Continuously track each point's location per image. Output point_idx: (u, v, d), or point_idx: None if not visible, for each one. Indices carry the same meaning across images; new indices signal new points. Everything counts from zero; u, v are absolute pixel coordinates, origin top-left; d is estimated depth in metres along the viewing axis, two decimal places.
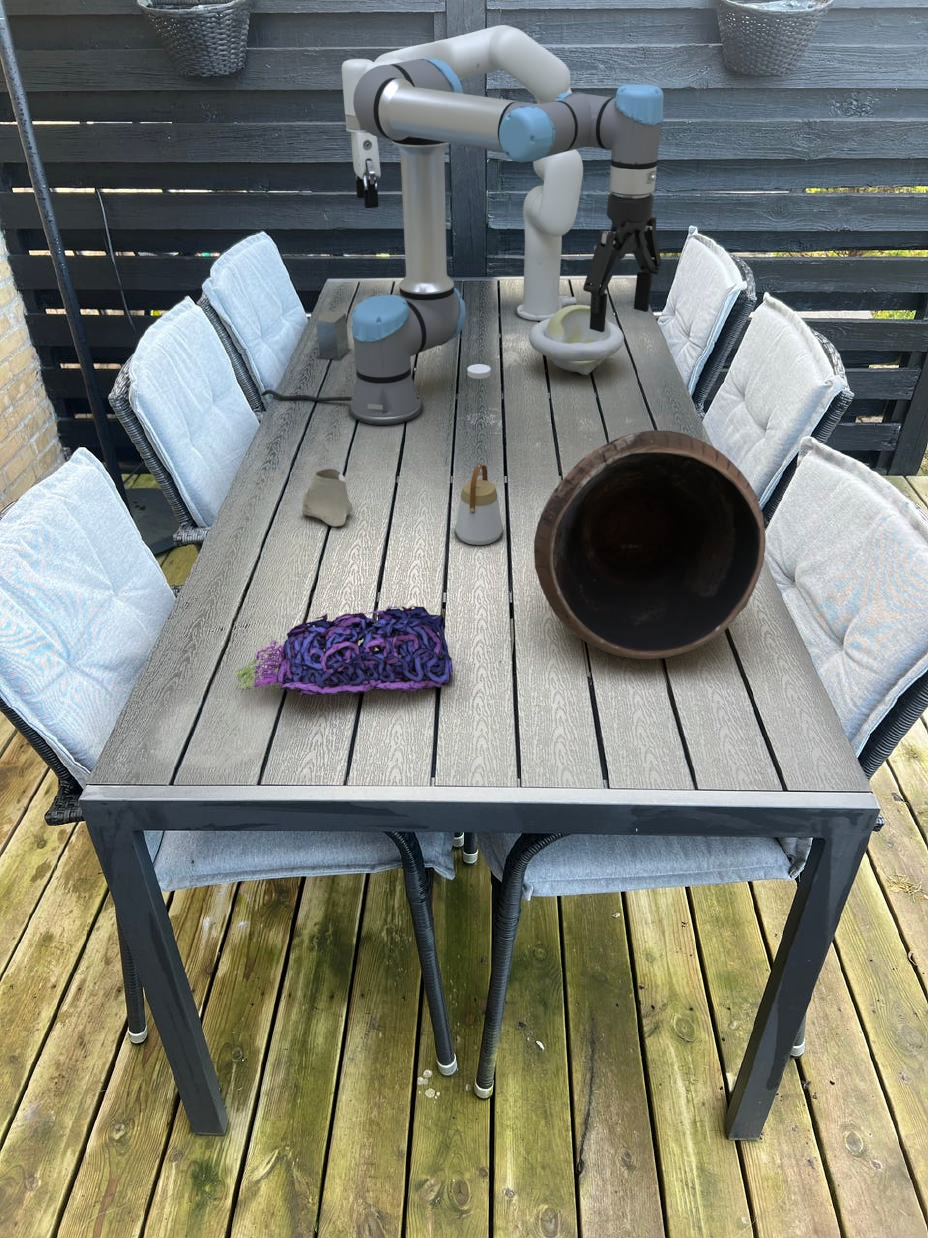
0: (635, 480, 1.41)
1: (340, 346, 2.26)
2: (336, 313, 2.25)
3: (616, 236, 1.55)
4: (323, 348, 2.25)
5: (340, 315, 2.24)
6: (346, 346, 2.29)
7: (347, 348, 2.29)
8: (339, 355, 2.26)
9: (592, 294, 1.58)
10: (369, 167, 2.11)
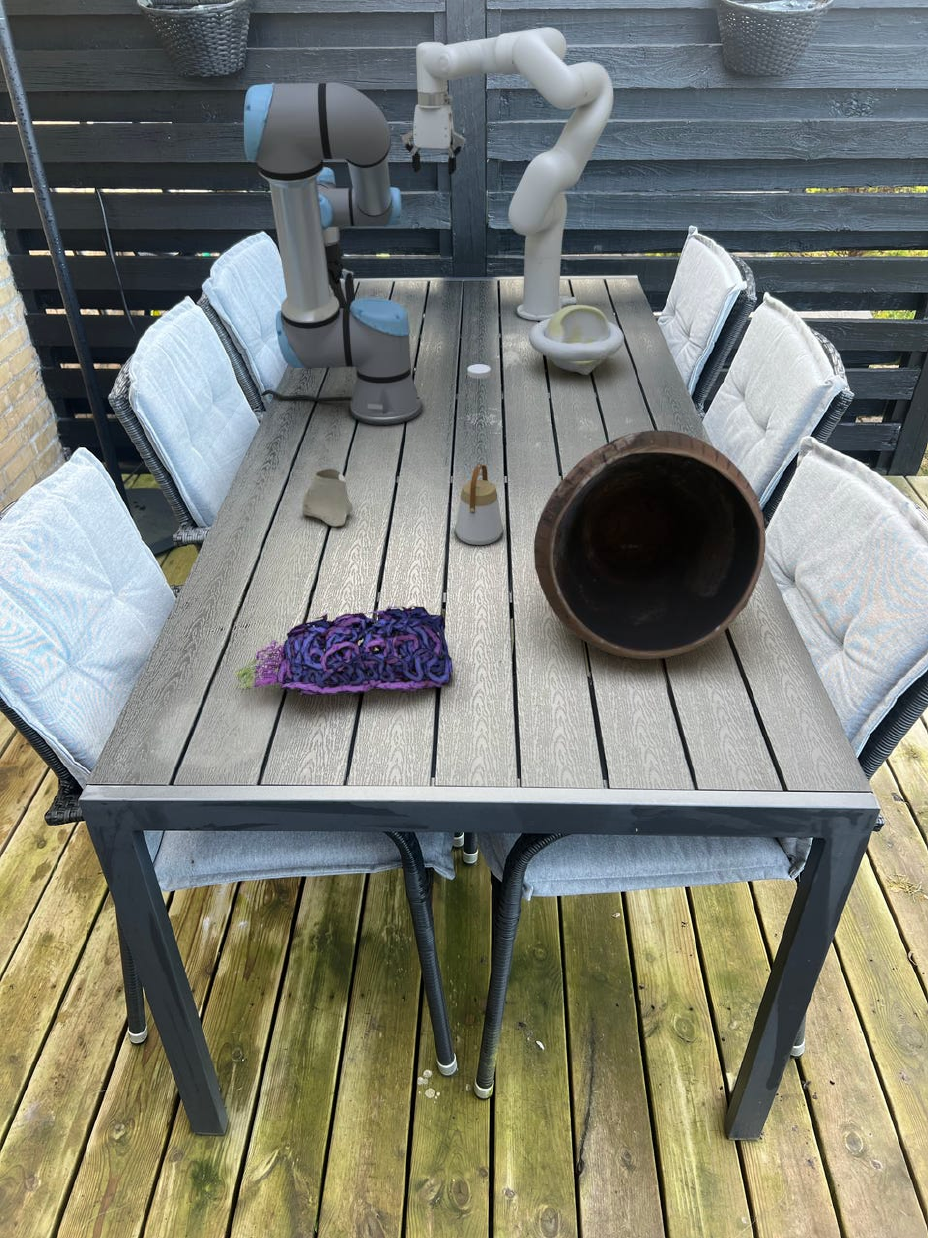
0: (635, 480, 1.41)
1: None
2: None
3: None
4: None
5: None
6: None
7: None
8: None
9: None
10: (459, 135, 2.39)
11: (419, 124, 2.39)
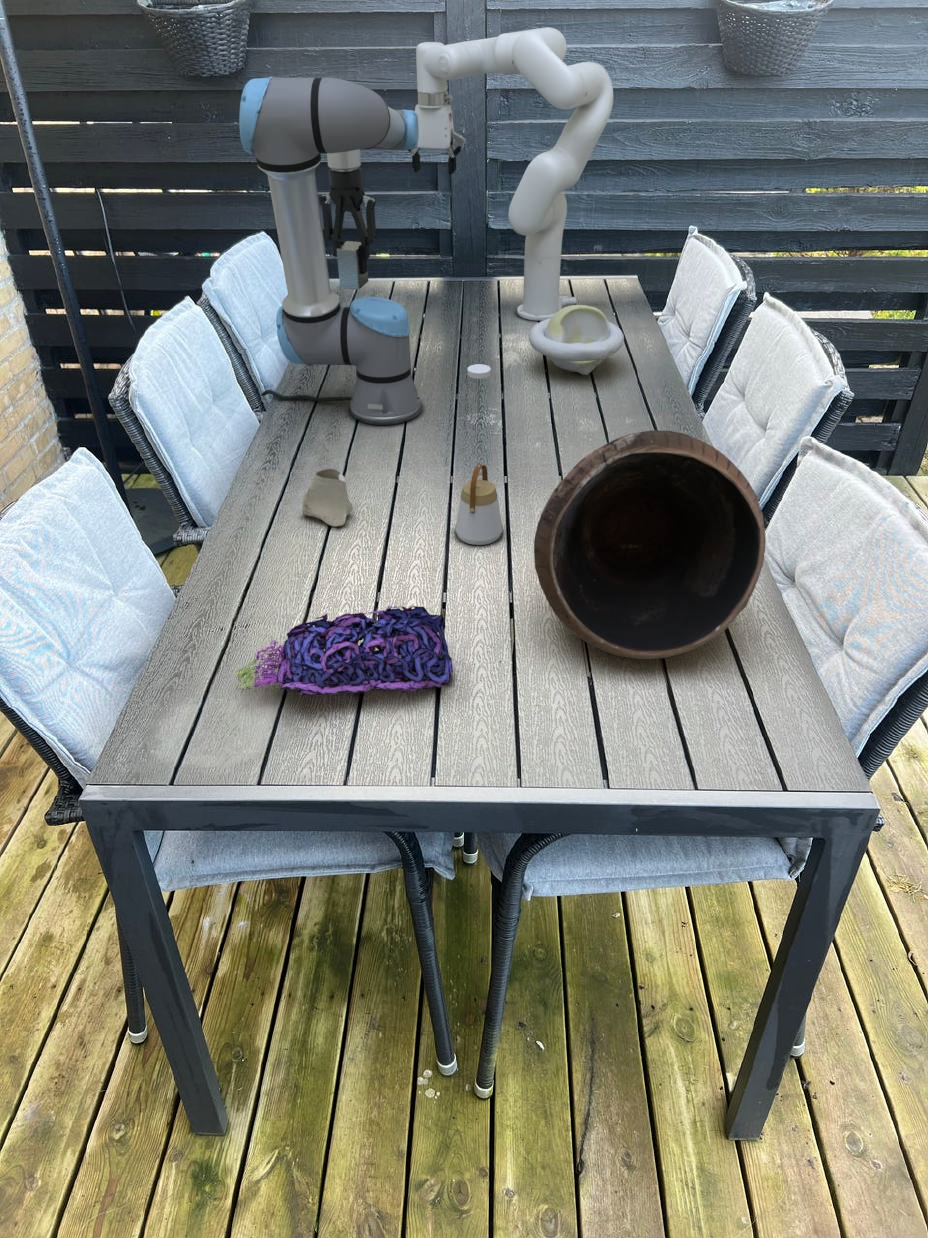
0: (635, 480, 1.41)
1: (361, 276, 2.25)
2: (356, 242, 2.24)
3: None
4: (343, 278, 2.25)
5: (360, 244, 2.23)
6: (366, 277, 2.28)
7: (366, 279, 2.29)
8: (359, 285, 2.25)
9: (368, 245, 2.21)
10: (459, 135, 2.39)
11: (419, 124, 2.39)
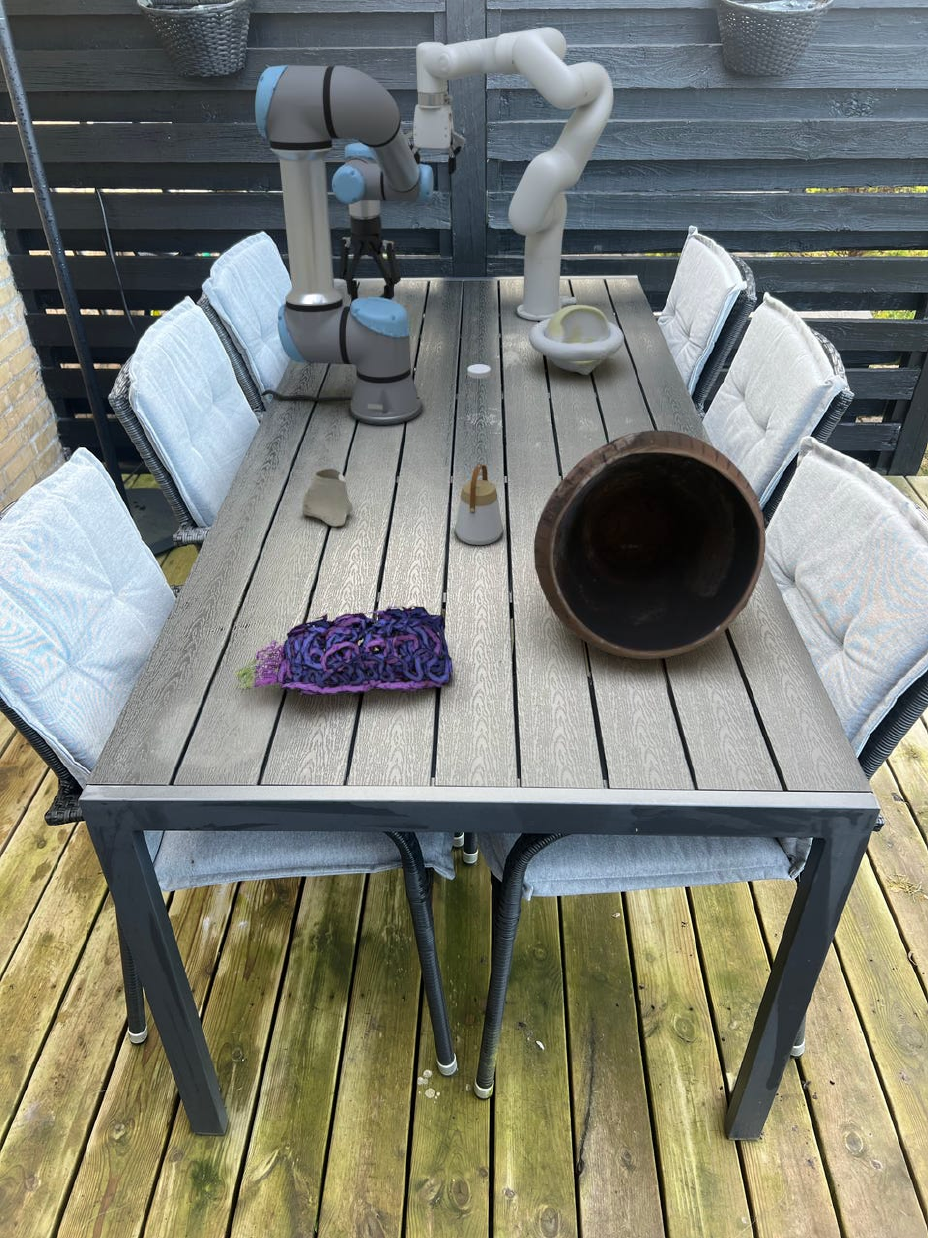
0: (635, 480, 1.41)
1: None
2: (376, 292, 2.37)
3: None
4: None
5: (379, 294, 2.36)
6: None
7: None
8: None
9: (392, 285, 2.32)
10: (459, 135, 2.39)
11: (419, 124, 2.39)
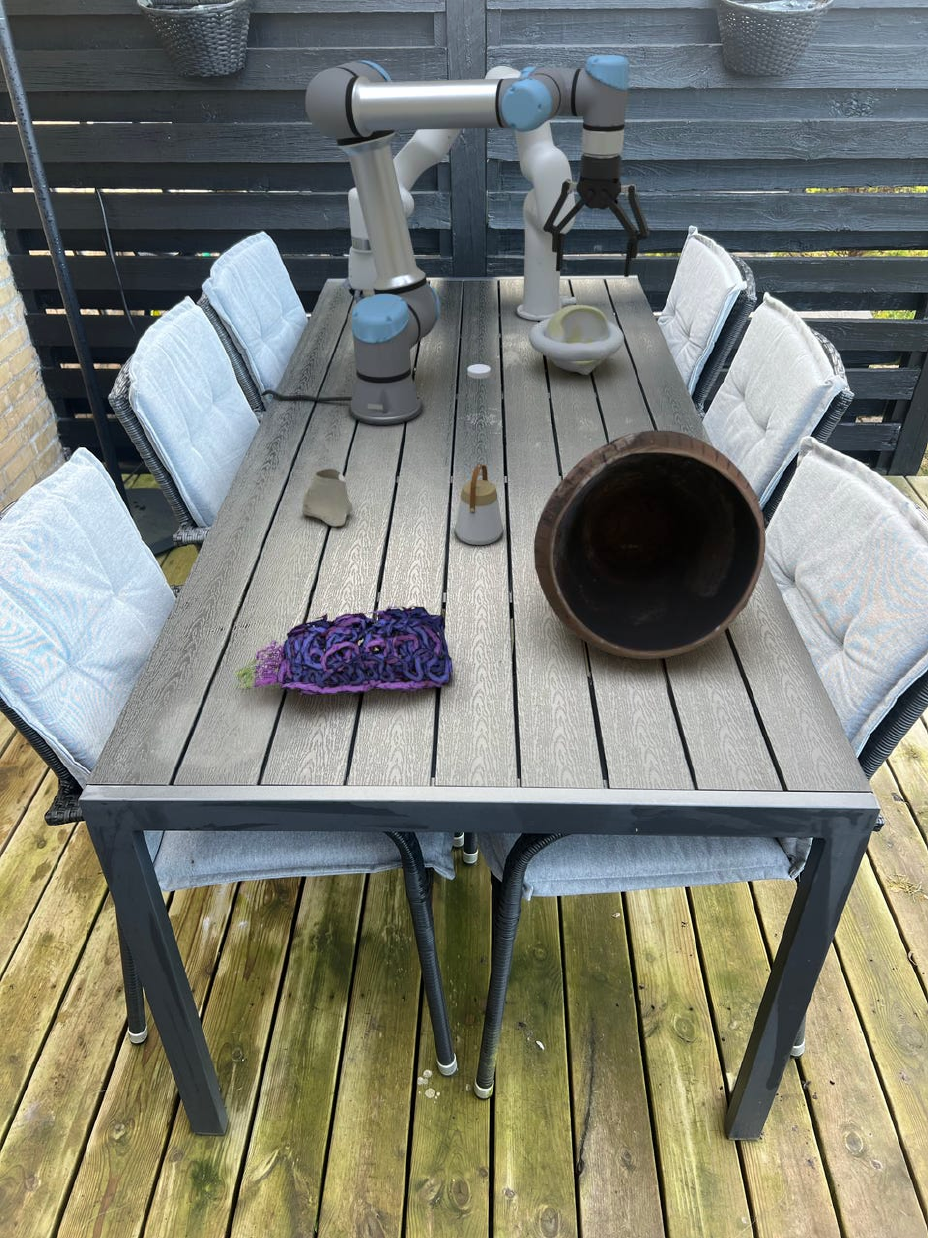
0: (635, 480, 1.41)
1: None
2: None
3: None
4: None
5: None
6: None
7: None
8: None
9: (638, 241, 1.77)
10: None
11: (354, 267, 2.30)
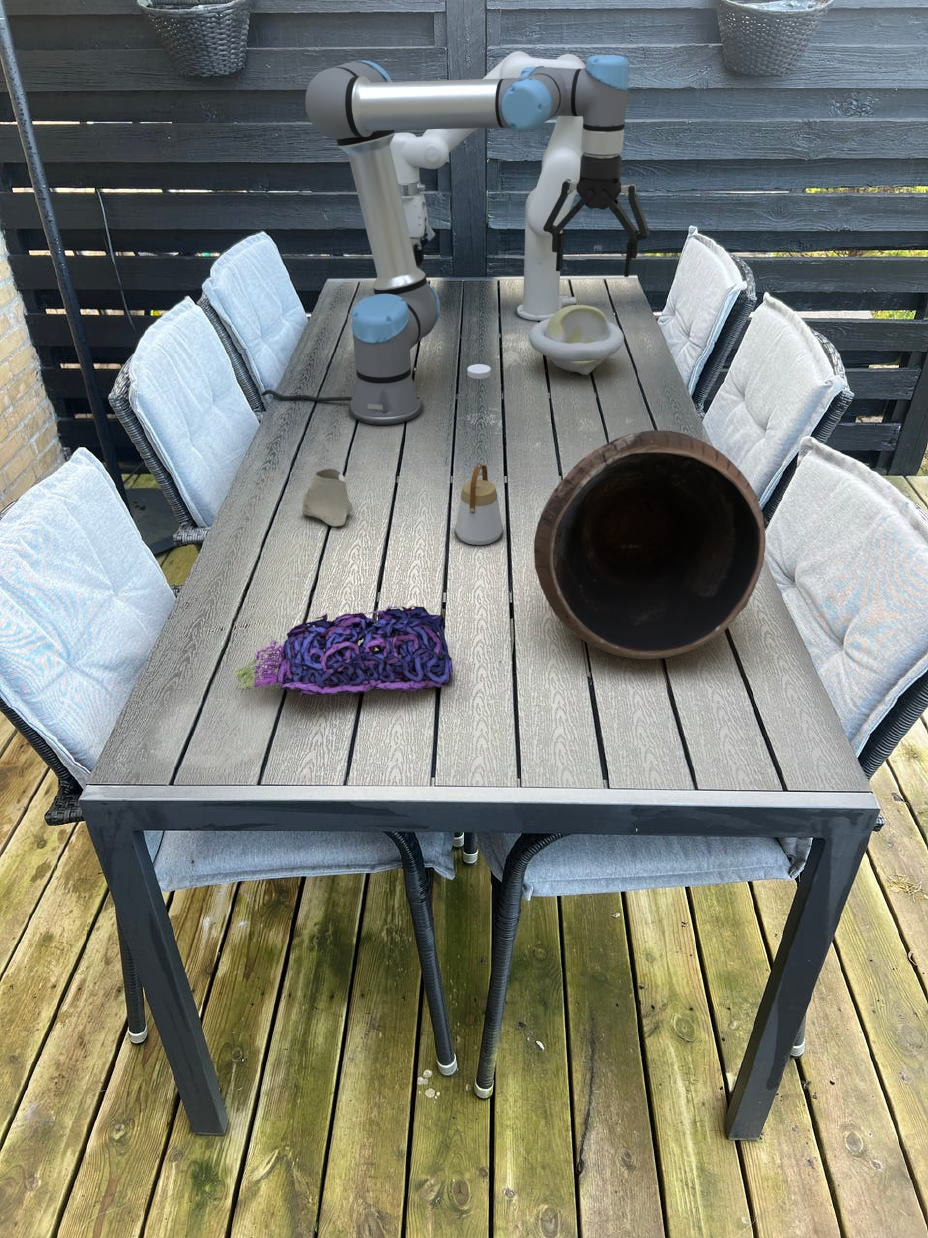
0: (635, 480, 1.41)
1: None
2: (412, 239, 2.42)
3: None
4: None
5: None
6: None
7: None
8: None
9: (638, 241, 1.77)
10: (430, 229, 2.36)
11: None
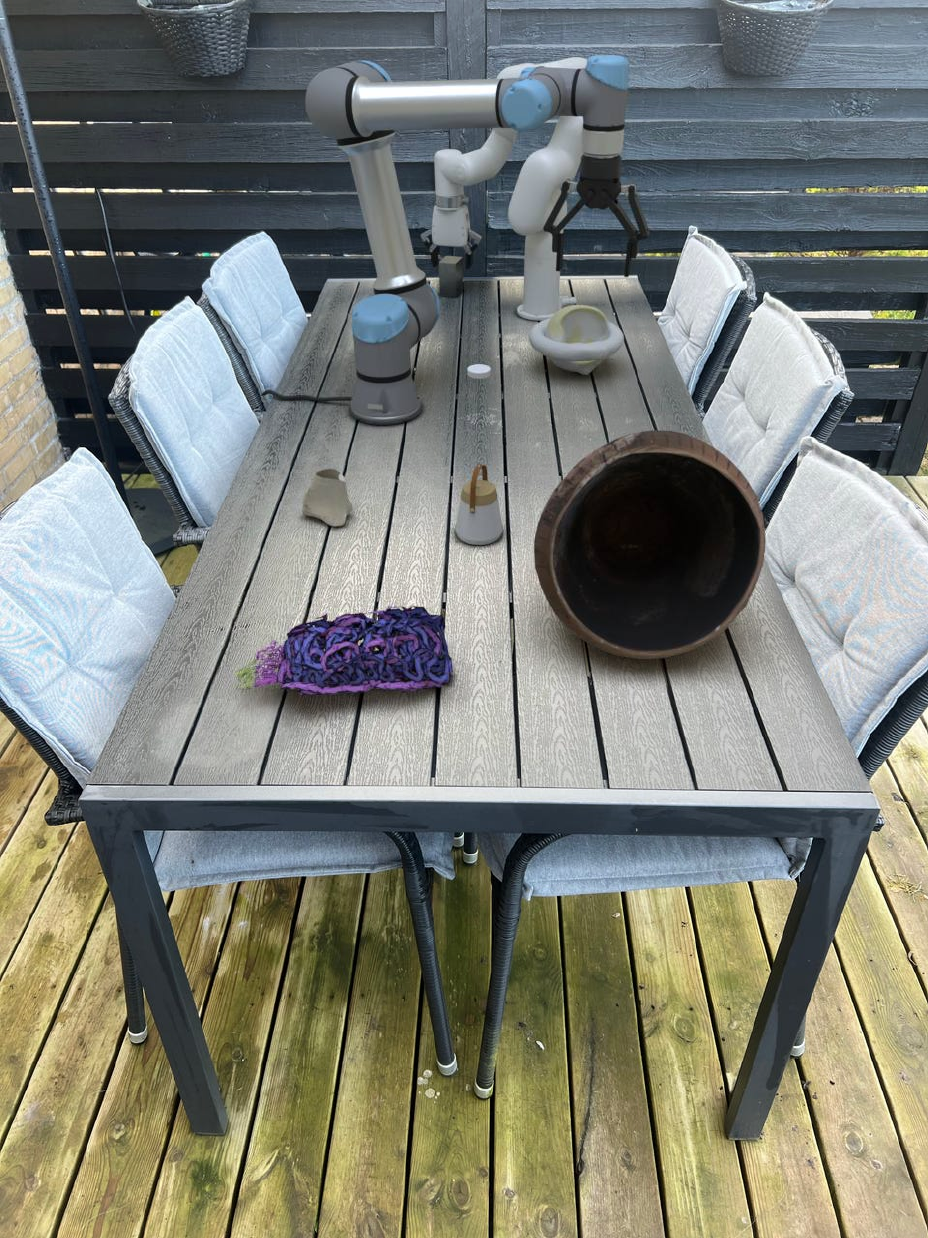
0: (635, 480, 1.41)
1: (458, 286, 2.61)
2: (454, 257, 2.60)
3: None
4: (443, 288, 2.60)
5: (458, 258, 2.59)
6: (461, 286, 2.64)
7: (461, 288, 2.65)
8: (456, 294, 2.61)
9: (638, 241, 1.77)
10: (475, 234, 2.52)
11: (437, 224, 2.51)
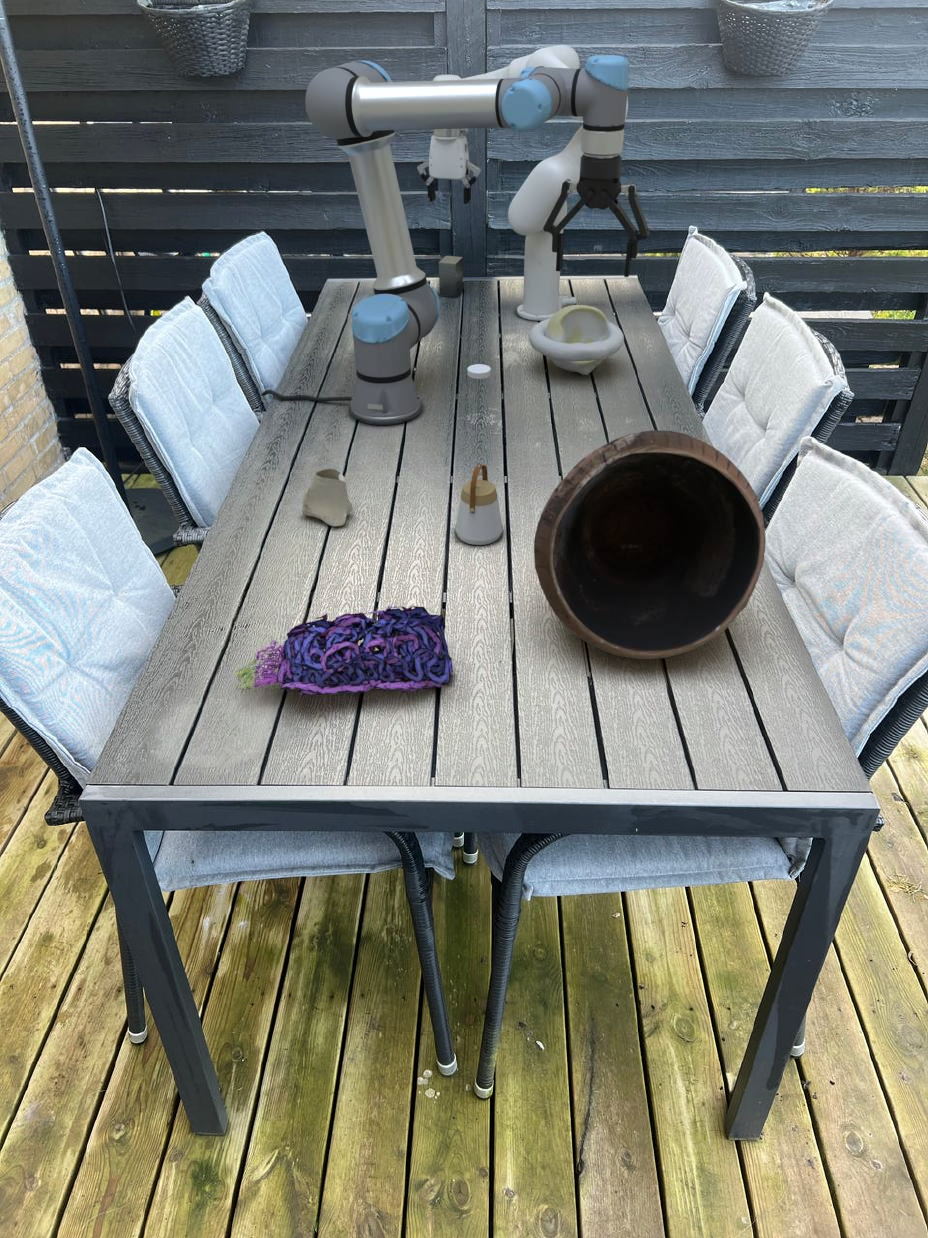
0: (635, 480, 1.41)
1: (458, 286, 2.61)
2: (454, 257, 2.60)
3: None
4: (443, 288, 2.60)
5: (458, 258, 2.59)
6: (461, 286, 2.64)
7: (461, 288, 2.65)
8: (456, 294, 2.61)
9: (638, 241, 1.77)
10: (474, 166, 2.42)
11: (435, 155, 2.41)
